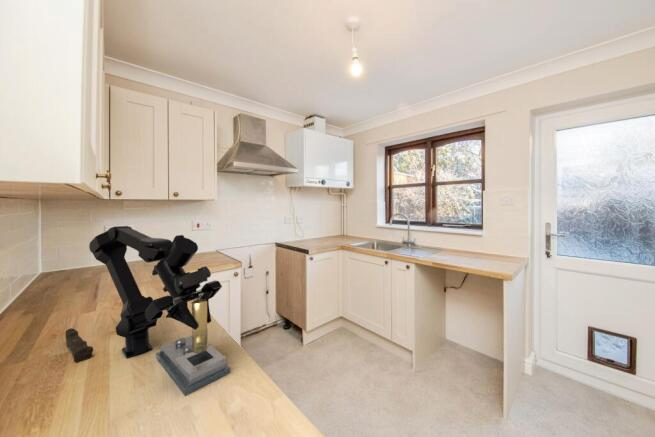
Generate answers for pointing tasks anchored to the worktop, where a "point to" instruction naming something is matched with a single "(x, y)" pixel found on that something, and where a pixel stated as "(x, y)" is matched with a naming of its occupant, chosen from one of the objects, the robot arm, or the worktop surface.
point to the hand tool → (78, 346)
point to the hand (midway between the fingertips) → (203, 325)
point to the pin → (199, 326)
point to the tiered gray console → (191, 364)
